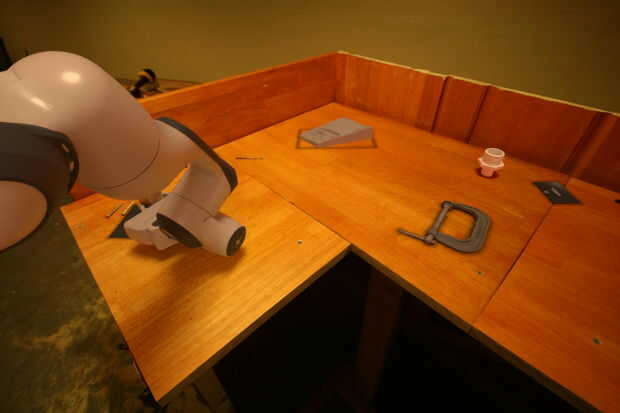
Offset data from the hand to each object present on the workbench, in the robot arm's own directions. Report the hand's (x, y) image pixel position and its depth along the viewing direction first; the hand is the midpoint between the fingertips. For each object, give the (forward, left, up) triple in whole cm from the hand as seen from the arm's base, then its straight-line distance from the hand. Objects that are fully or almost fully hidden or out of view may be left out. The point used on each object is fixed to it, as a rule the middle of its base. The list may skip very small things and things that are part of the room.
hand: (149, 200), depth 76 cm
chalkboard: (+1, 0, -7) cm, 7 cm away
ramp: (+48, +48, -7) cm, 68 cm away
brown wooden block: (+4, -2, -5) cm, 7 cm away
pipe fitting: (+94, +23, -7) cm, 97 cm away
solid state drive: (+109, +13, -7) cm, 110 cm away
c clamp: (+75, -1, -7) cm, 76 cm away
